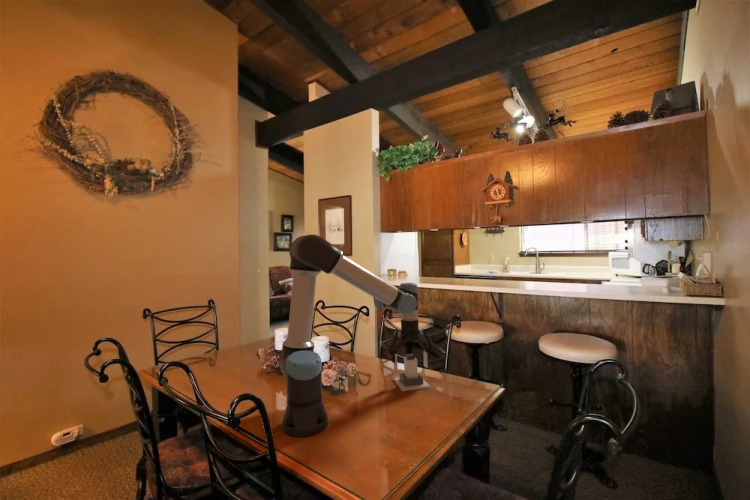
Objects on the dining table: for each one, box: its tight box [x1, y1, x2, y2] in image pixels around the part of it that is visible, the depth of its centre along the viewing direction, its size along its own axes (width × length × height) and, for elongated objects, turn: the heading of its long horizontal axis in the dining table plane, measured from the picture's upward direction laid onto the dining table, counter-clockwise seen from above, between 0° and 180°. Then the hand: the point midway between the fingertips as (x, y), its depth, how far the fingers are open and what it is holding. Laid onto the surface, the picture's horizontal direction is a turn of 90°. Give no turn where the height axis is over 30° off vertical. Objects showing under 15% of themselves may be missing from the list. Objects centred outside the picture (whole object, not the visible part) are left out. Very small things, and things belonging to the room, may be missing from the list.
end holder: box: [393, 372, 431, 392], centre depth 145 cm, size 12×12×4 cm
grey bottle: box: [403, 353, 419, 379], centre depth 145 cm, size 4×4×12 cm
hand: (410, 368), depth 145 cm, fingers open, 13 cm apart
